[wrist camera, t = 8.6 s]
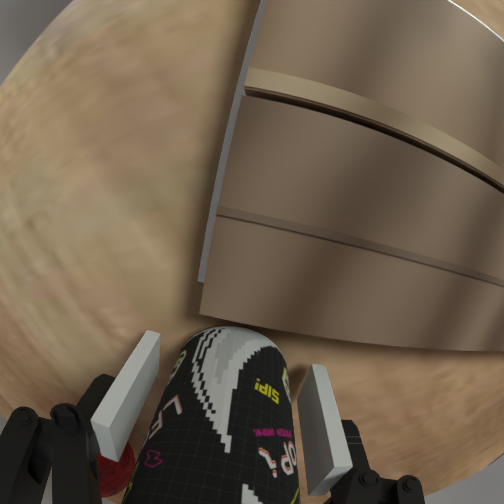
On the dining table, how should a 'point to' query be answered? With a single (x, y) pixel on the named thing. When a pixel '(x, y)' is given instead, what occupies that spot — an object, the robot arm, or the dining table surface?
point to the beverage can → (221, 427)
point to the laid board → (353, 236)
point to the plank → (390, 73)
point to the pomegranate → (115, 472)
